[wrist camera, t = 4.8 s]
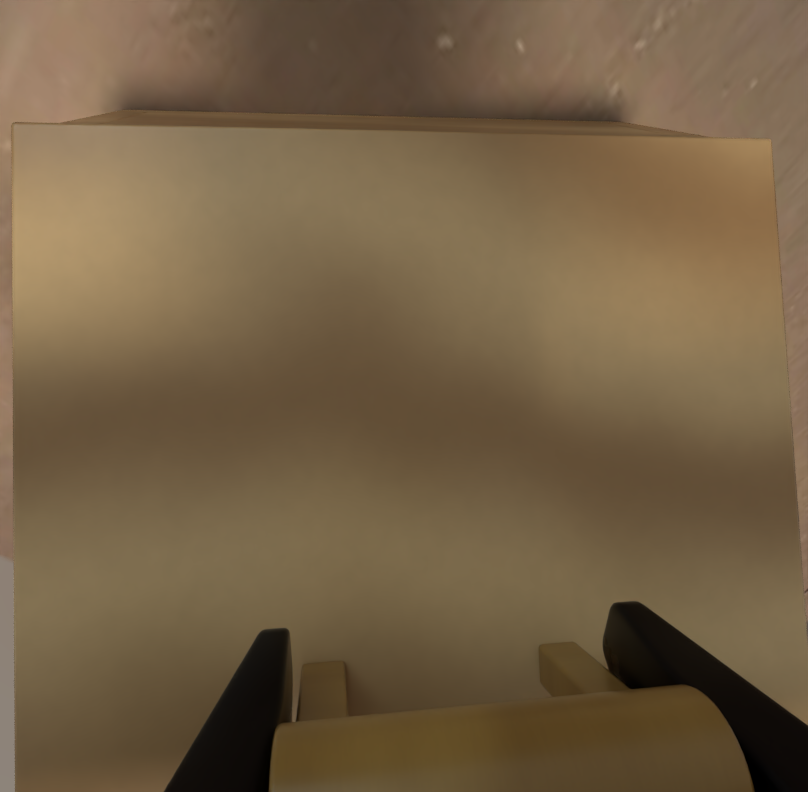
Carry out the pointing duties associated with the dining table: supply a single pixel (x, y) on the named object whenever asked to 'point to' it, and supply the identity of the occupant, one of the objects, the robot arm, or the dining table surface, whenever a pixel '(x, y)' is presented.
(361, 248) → the box door
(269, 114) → the storage box
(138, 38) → the dining table surface
